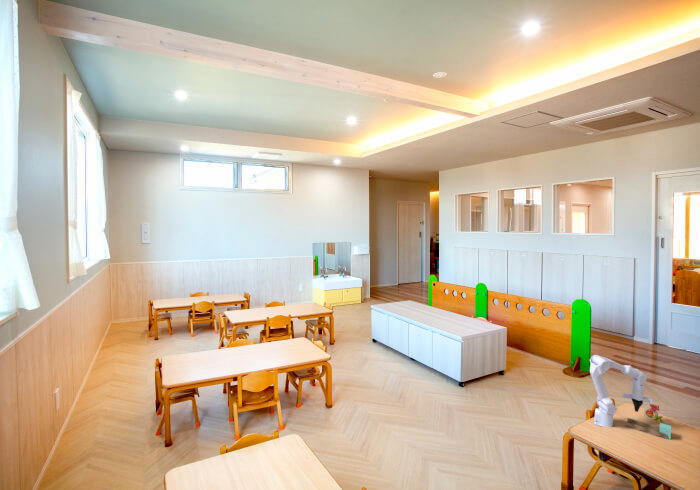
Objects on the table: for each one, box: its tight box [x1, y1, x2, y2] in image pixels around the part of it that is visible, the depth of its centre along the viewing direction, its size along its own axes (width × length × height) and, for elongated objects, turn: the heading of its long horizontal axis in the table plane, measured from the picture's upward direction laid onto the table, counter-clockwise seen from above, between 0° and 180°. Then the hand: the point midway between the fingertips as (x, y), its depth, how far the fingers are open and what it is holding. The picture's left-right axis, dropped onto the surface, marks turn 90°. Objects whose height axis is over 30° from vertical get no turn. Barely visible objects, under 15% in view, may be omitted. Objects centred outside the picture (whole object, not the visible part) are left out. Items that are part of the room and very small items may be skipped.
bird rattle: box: [643, 403, 664, 423], centre depth 231 cm, size 6×11×9 cm
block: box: [659, 422, 672, 440], centre depth 213 cm, size 5×5×6 cm
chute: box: [625, 417, 667, 440], centre depth 219 cm, size 19×7×4 cm, turn 48°
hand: (636, 410), depth 225 cm, fingers closed
